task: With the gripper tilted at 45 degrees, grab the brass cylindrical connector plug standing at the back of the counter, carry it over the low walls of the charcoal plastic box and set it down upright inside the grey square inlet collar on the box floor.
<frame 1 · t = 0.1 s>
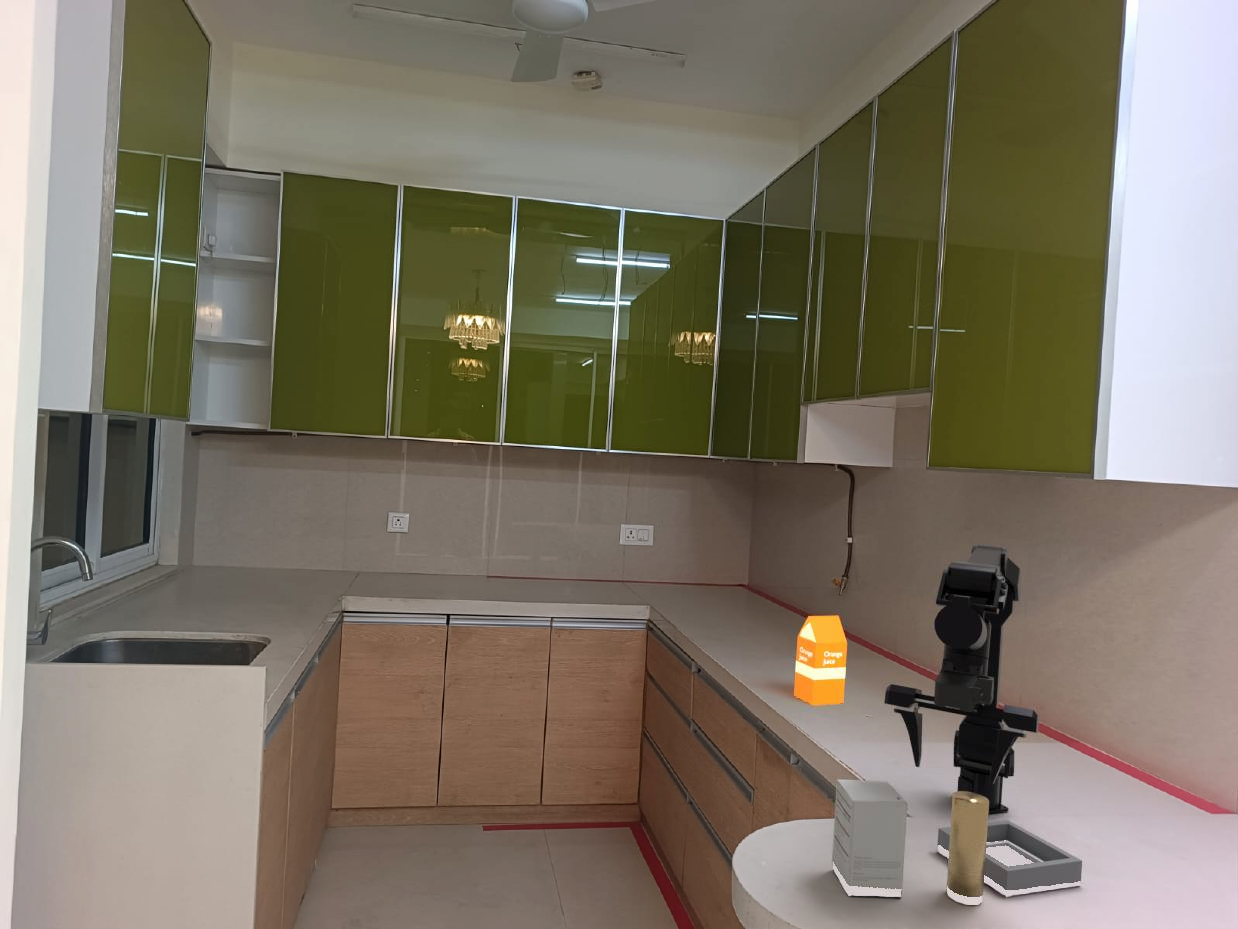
hand: (953, 775, 112), 15 cm above the counter, tool pointing down, fingers open, 9 cm apart
walled box: (1006, 868, 119), on the counter
connector plug: (964, 897, 110), on the counter
orange juice: (818, 700, 201), on the counter
supplement box: (865, 885, 112), on the counter
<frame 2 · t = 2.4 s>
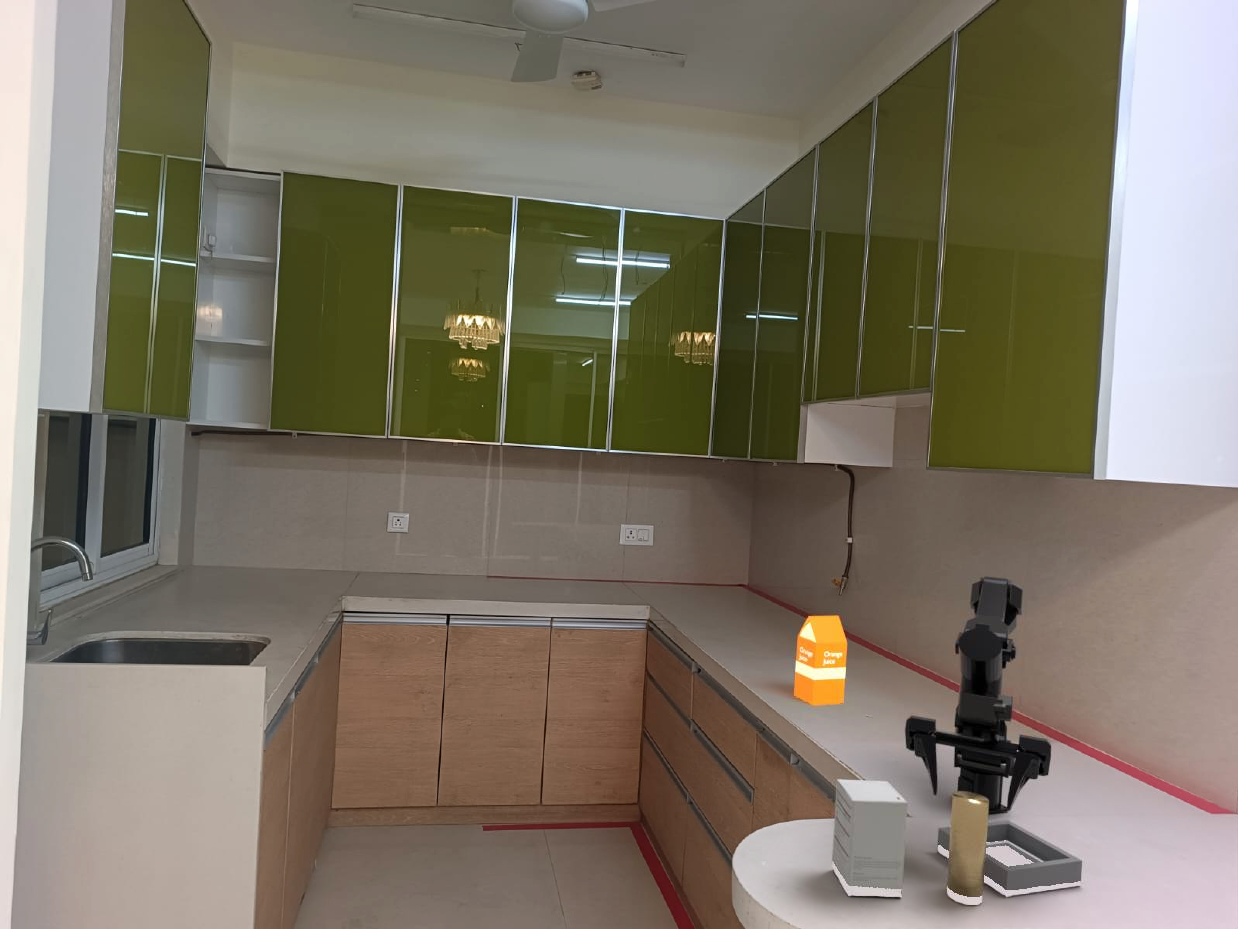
hand: (971, 801, 114), 11 cm above the counter, tool tilted 45°, fingers open, 9 cm apart
nothing on the counter moved.
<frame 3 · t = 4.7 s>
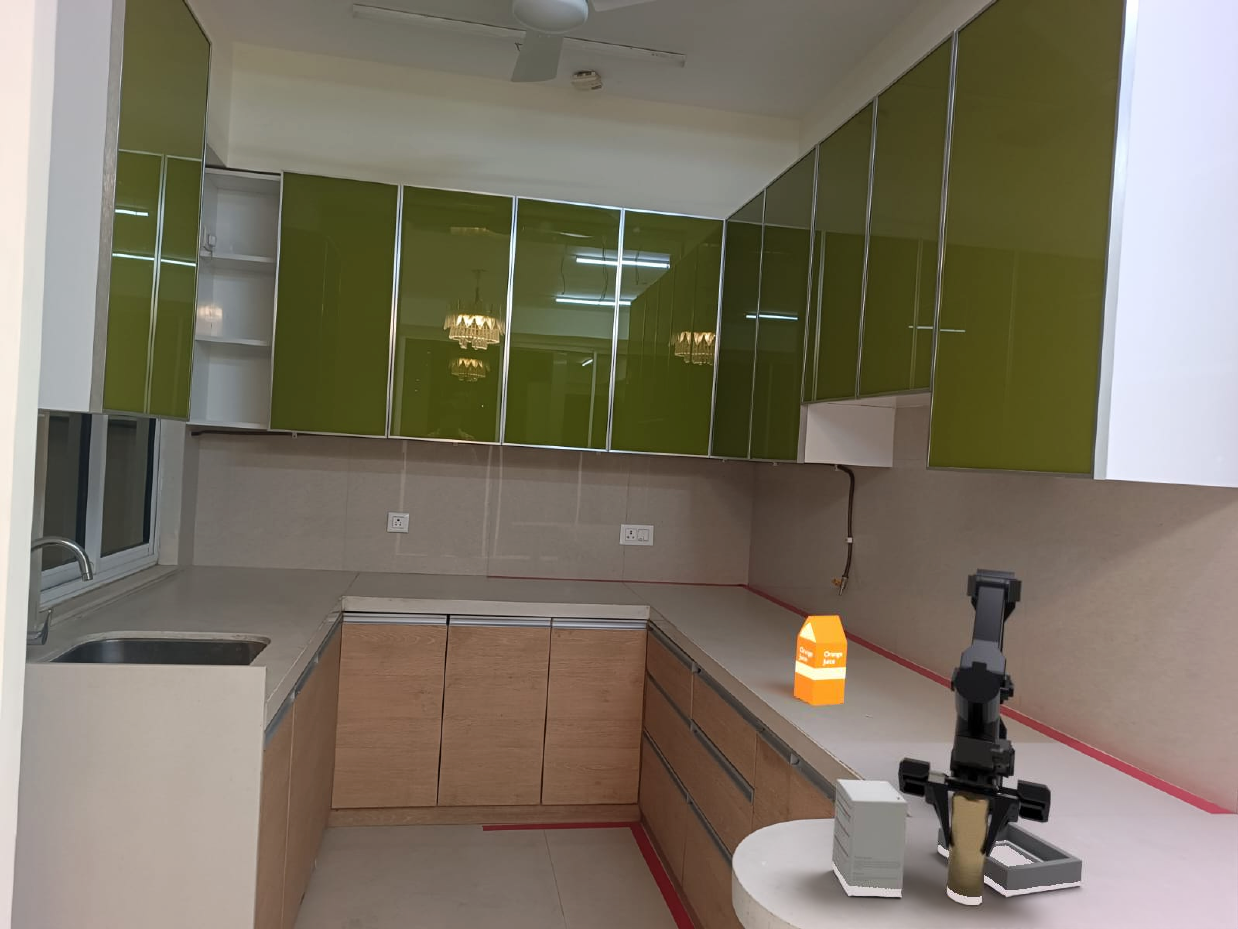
hand: (967, 851, 109), 7 cm above the counter, tool tilted 45°, fingers closed on connector plug, 4 cm apart
connector plug: (964, 897, 110), on the counter, touching gripper
everything else where it was.
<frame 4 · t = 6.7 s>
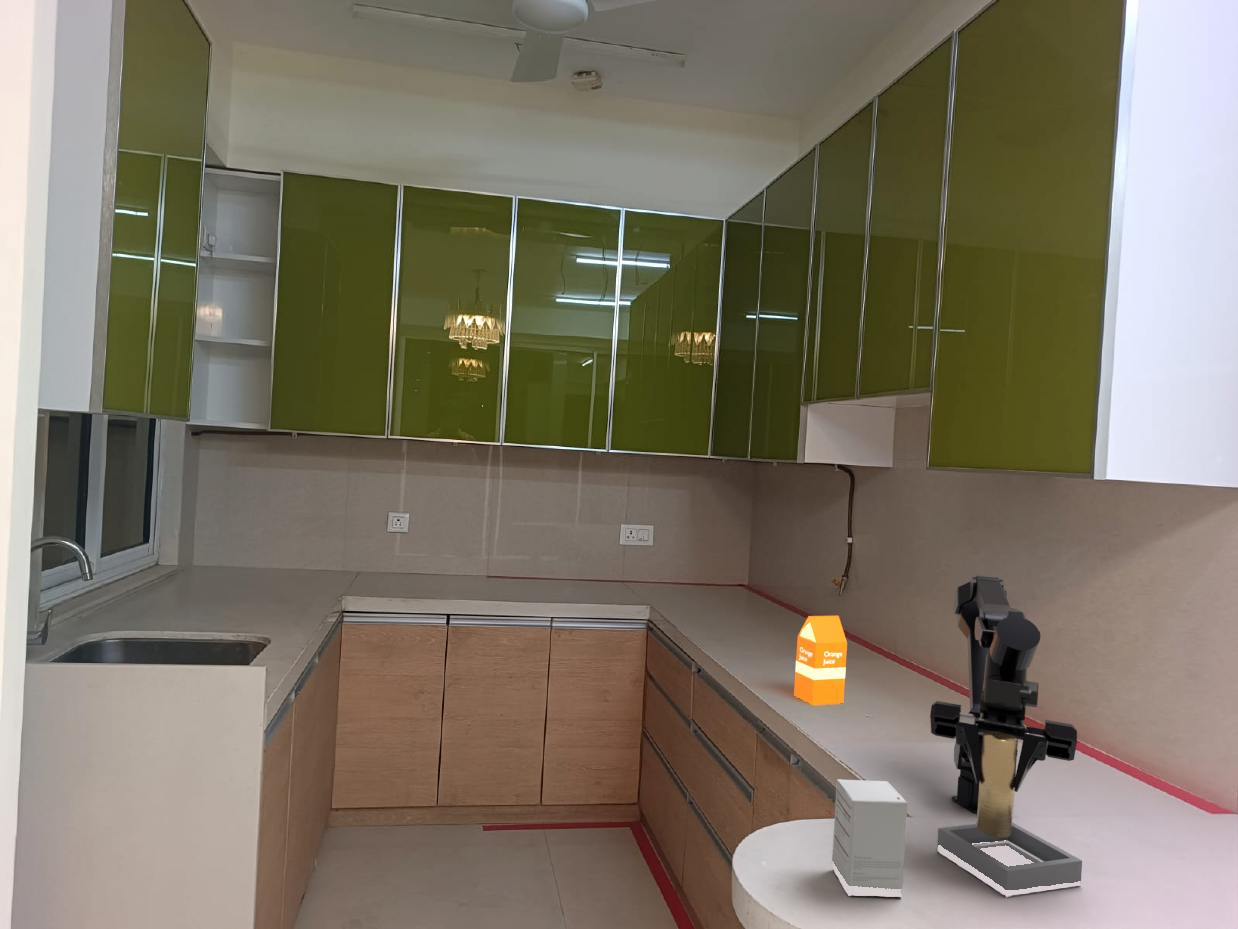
hand: (996, 786, 115), 13 cm above the counter, tool tilted 45°, fingers closed on connector plug, 4 cm apart
connector plug: (993, 830, 117), point 6 cm above the counter, touching gripper
everything else where it was.
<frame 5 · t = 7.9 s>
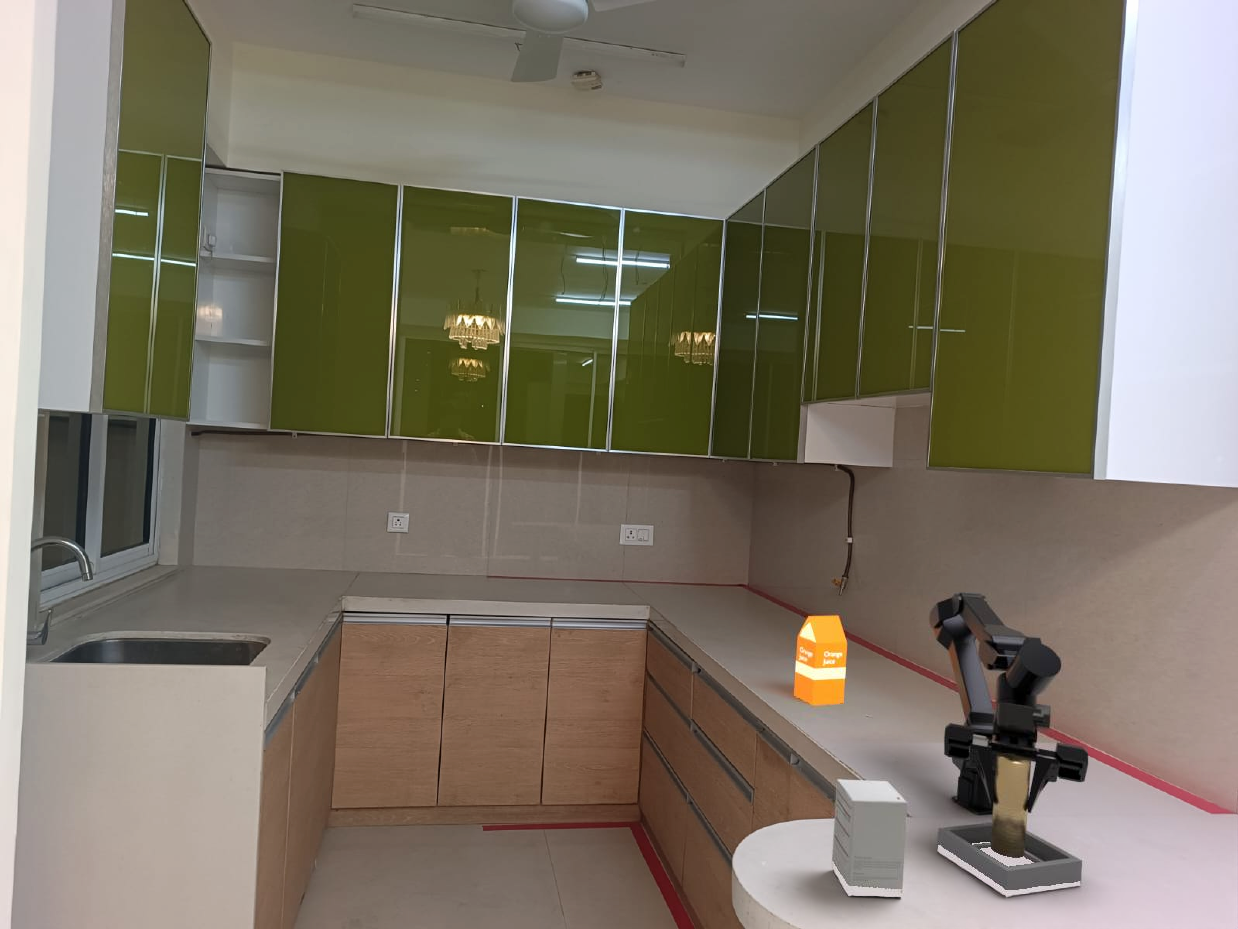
hand: (1010, 807, 118), 9 cm above the counter, tool tilted 45°, fingers closed on connector plug, 4 cm apart
connector plug: (1007, 850, 119), point 3 cm above the counter, touching gripper
everything else where it was.
when the fingers open (9 cm above the counter, at t = 8.6 s): connector plug drops 2 cm, resting on walled box.
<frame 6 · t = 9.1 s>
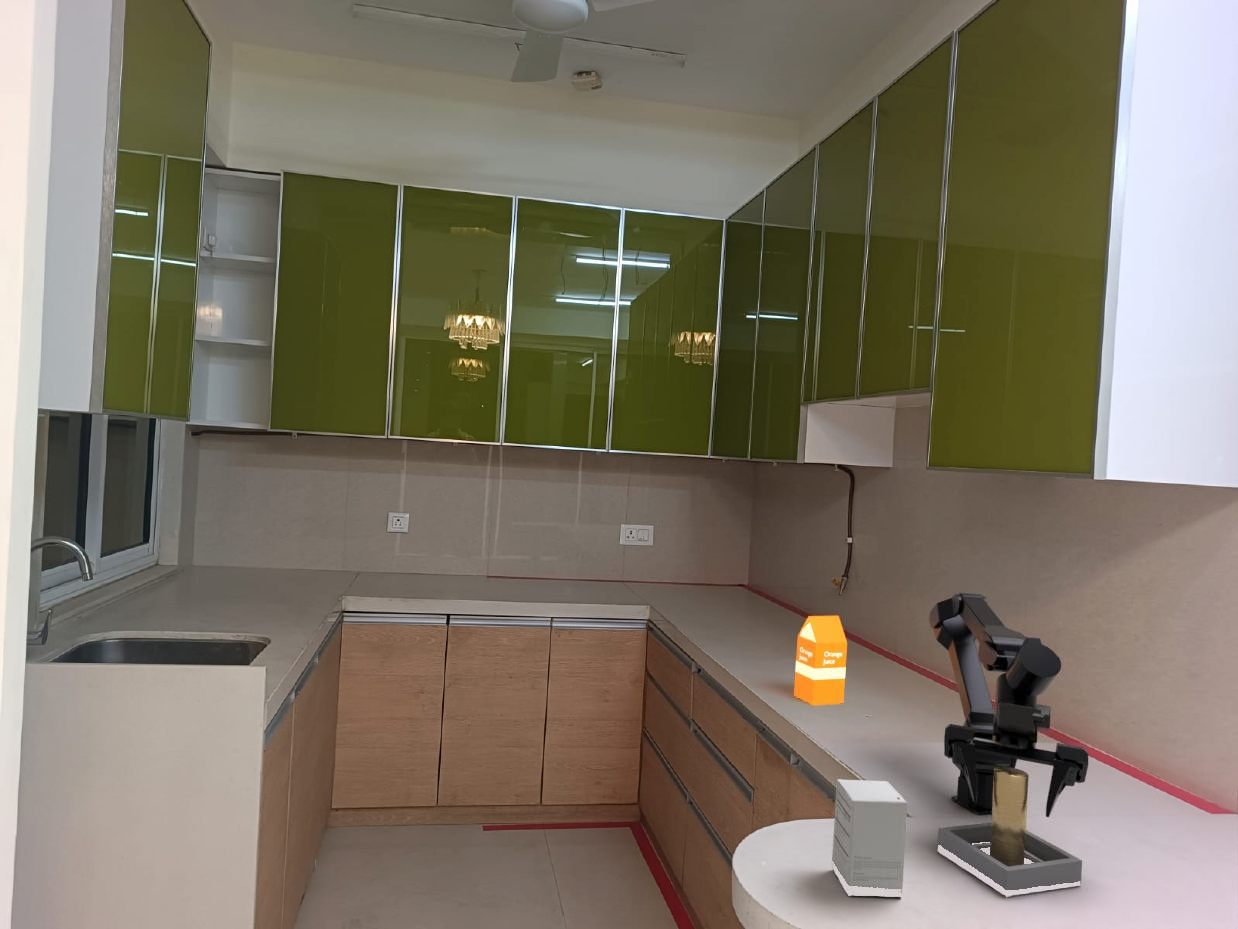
hand: (1010, 808, 118), 9 cm above the counter, tool tilted 45°, fingers open, 9 cm apart
connector plug: (1006, 864, 119), point 1 cm above the counter, touching walled box
everything else where it was.
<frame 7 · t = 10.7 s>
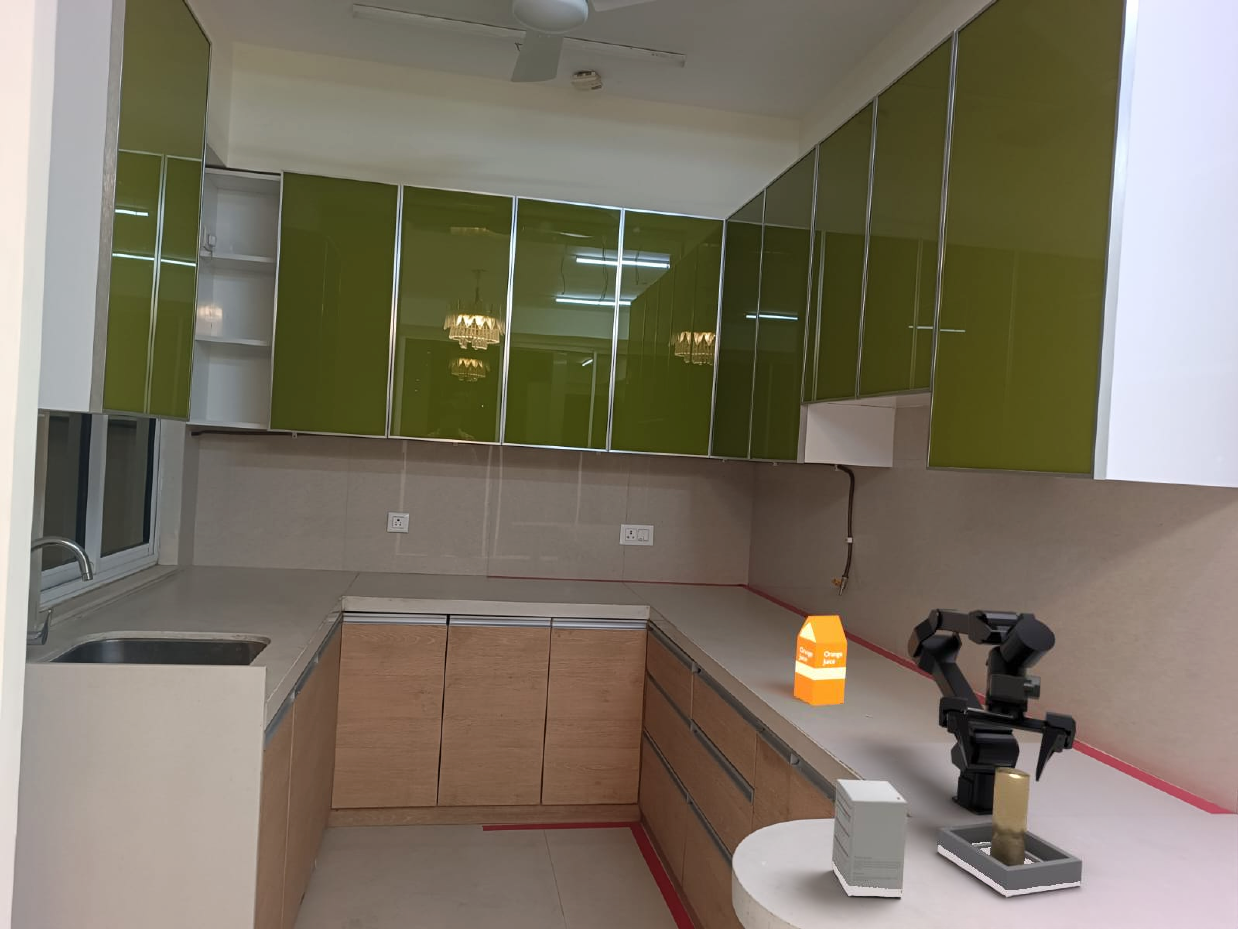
hand: (1002, 773, 124), 12 cm above the counter, tool tilted 45°, fingers open, 9 cm apart
nothing on the counter moved.
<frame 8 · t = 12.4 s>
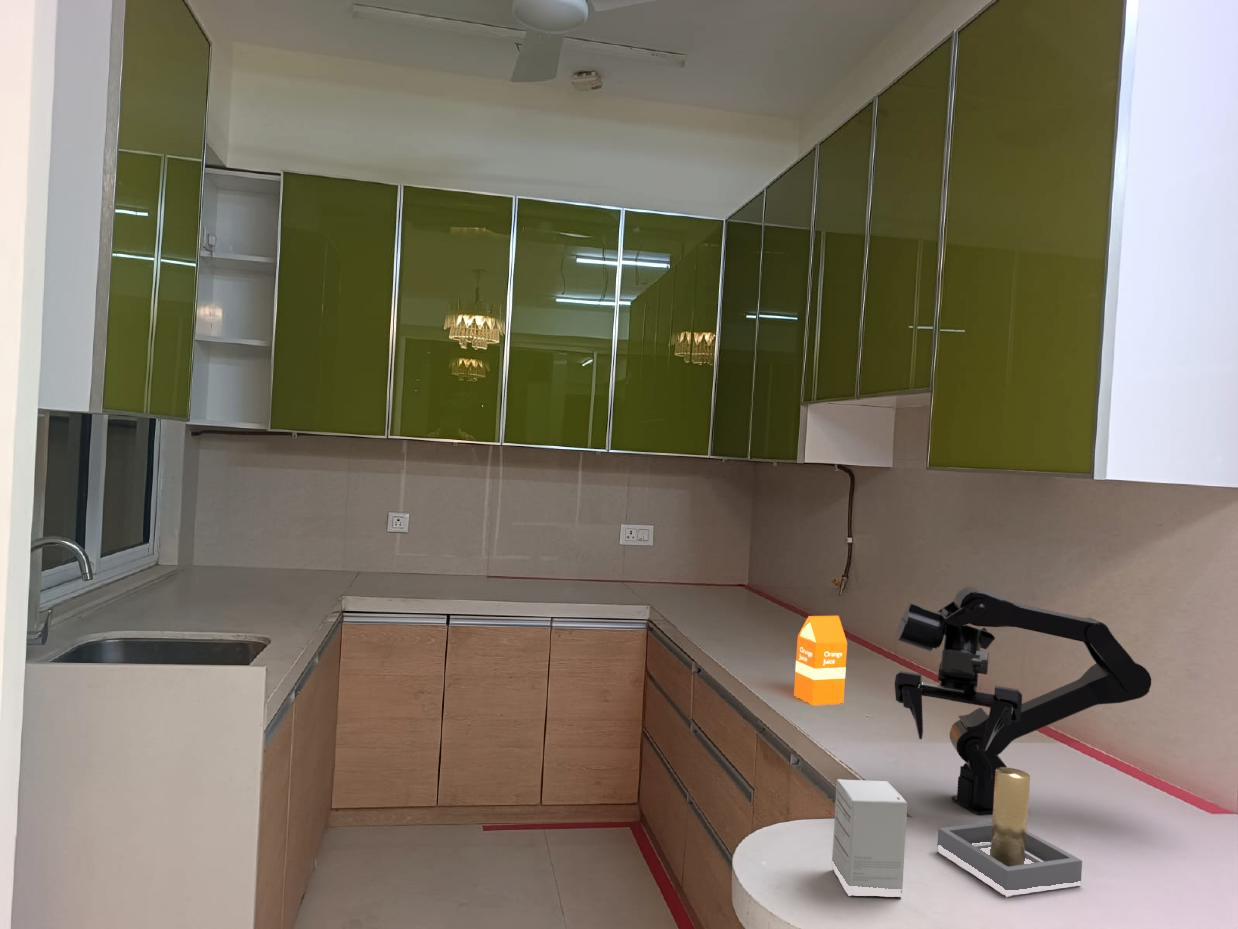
hand: (951, 743, 130), 14 cm above the counter, tool tilted 45°, fingers open, 9 cm apart
nothing on the counter moved.
at the end: connector plug 0.1 cm off-centre on the walled box, point 0.5 cm above the walled box's base; connector plug tilted 0°; the gripper is holding nothing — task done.
